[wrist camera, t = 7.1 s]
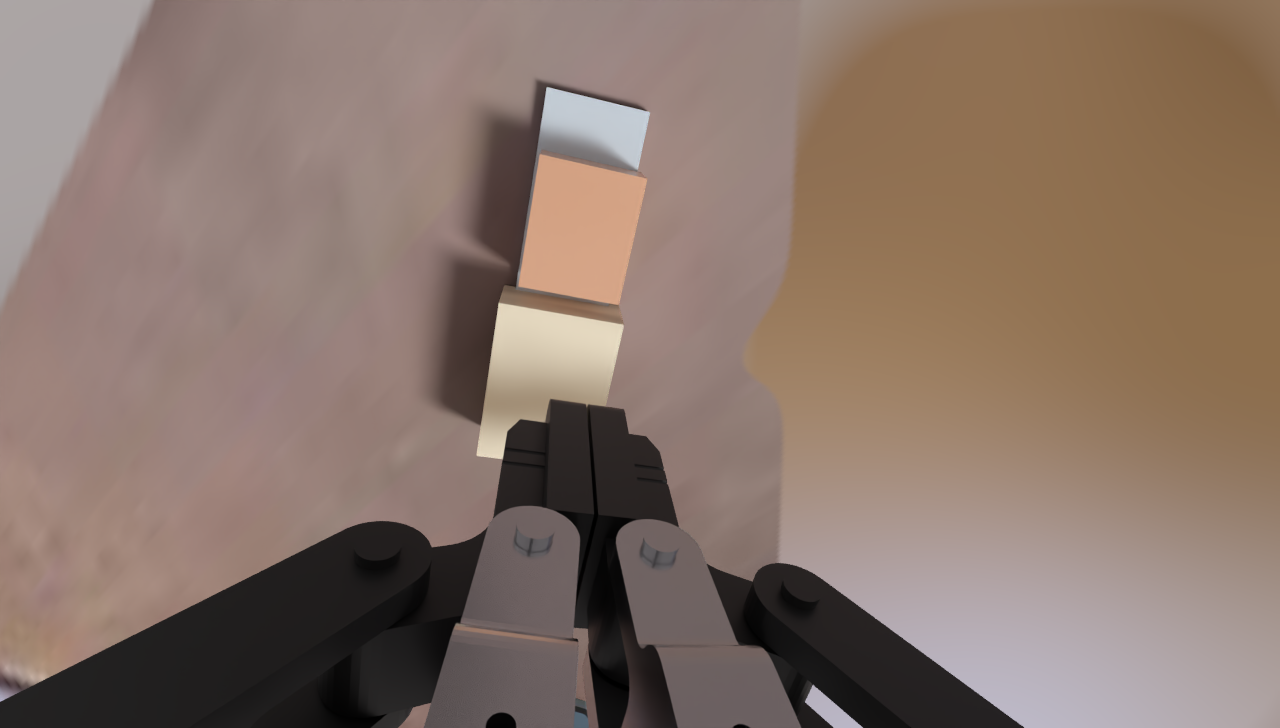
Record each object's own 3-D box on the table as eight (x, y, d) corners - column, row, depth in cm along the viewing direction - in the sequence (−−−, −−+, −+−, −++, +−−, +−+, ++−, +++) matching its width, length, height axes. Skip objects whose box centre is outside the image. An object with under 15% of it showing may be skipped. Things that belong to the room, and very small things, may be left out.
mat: (547, 86, 24) (546, 87, 23) (648, 112, 24) (650, 112, 24) (516, 286, 27) (515, 289, 26) (607, 303, 27) (608, 306, 27)
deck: (504, 284, 26) (498, 302, 24) (618, 305, 27) (623, 324, 25) (483, 427, 29) (476, 455, 27) (588, 441, 30) (590, 470, 28)
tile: (541, 149, 24) (539, 153, 22) (641, 172, 25) (647, 178, 23) (521, 272, 26) (518, 286, 24) (614, 290, 27) (618, 305, 25)
